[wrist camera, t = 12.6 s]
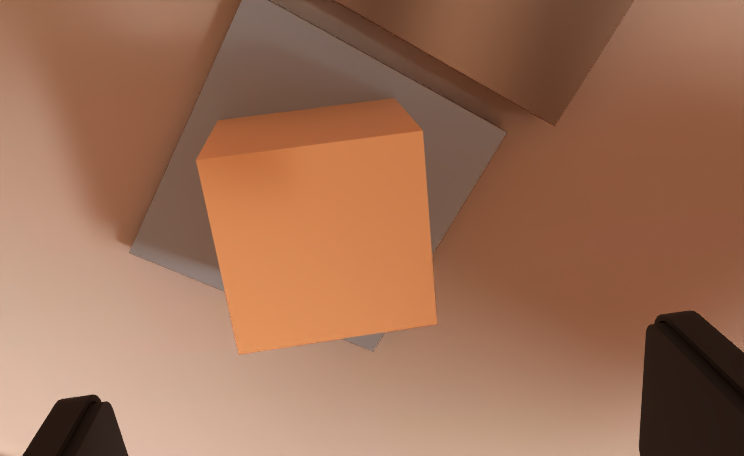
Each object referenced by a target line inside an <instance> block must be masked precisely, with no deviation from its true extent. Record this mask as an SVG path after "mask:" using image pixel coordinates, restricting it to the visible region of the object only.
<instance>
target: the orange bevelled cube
mask: <svg viewBox="0 0 744 456" xmlns="http://www.w3.org/2000/svg"><path fill="white" fill-rule="evenodd" d="M196 163H197V167H198V172H199V176H200V181H201V185H202V190H203V194H204V199H205V203H206V208H207V213H208V217H209V222H210V226H211V231H212V235H213V240H214V244H215V249H216V253H217V258H218V263H219V267H220V272H221V276H222V281H223V285H224V290H225V294H226V299H227V304H228V308H229V313H230V317H231V322H232V326H233V331H234V335H235V340H236V344H237V349H238V354H245V353H252V352H258V351H265V350H271V349H278V348H285V347H291V346H298V345H304V344H311V343H317V342H324V341H330V340H337V339H343V338H350V337H356V336H363V335H369V334H376V333H383V332H389V331H396V330H402V329H409V328H415V327H422V326H428V325H435V324H437V317H436V304H435V290H434V276H433V262H432V249H431V235H430V221H429V207H428V194H427V180H426V166H425V152H424V138H423V130H422V129H421V128H420V127H419V125H418V124H417V123H416V122H415V121H414V120H413V119H412V117H411V116H410V115H409V114H408V113H407V112H406V111H405V109H404V108H403V107H402V106H401V105H400V104H399V102H398V101H397V100H396V99H395V98H390V99H382V100H375V101H367V102H359V103H351V104H343V105H335V106H327V107H319V108H311V109H303V110H295V111H287V112H280V113H272V114H264V115H256V116H248V117H240V118H232V119H224V120H218V121H217V123H216V125H215V126H214V128H213V130H212V132H211V134H210V136H209V137H208V139H207V141H206V143H205V145H204V146H203V148H202V150H201V152H200V154H199V156H198V157H197V159H196Z"/></svg>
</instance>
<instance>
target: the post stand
mask: <svg viewBox="0 0 744 456" xmlns="http://www.w3.org/2000/svg"><path fill="white" fill-rule="evenodd" d="M335 1H336V2H338V3H340V4H342V5H343V6H345V7H347V8H349V9H350V10H352V11H354V12H356V13H357V14H359V15H361V16H363V17H364V18H366V19H368V20H370V21H371V22H373V23H375V24H377V25H378V26H380V27H382V28H384V29H385V30H387V31H389V32H391V33H392V34H394V35H396V36H398V37H399V38H401V39H403V40H405V41H406V42H408V43H410V44H412V45H413V46H415V47H417V48H419V49H420V50H422V51H424V52H426V53H427V54H429V55H431V56H433V57H434V58H436V59H438V60H440V61H441V62H443V63H445V64H447V65H448V66H450V67H452V68H454V69H455V70H457V71H459V72H461V73H462V74H464V75H466V76H468V77H469V78H471V79H473V80H475V81H476V82H478V83H480V84H482V85H483V86H485V87H487V88H489V89H490V90H492V91H494V92H495V93H497V94H499V95H501V96H502V97H504V98H506V99H508V100H509V101H511V102H513V103H515V104H516V105H518V106H520V107H522V108H523V109H525V110H527V111H529V112H530V113H532V114H534V115H536V116H537V117H539V118H541V119H543V120H545V121H546V122H548V123H550V124H552V125H554V126H555V125H556V123H557V121H558V120H559V118H560V117H561V115H562V114H563V112H564V110H565V109H566V107H567V106H568V104H569V103H570V101H571V99H572V98H573V96H574V95H575V93H576V91H577V90H578V88H579V87H580V85H581V84H582V82H583V80H584V79H585V77H586V76H587V74H588V72H589V71H590V69H591V68H592V66H593V65H594V63H595V61H596V60H597V58H598V57H599V55H600V53H601V52H602V50H603V49H604V47H605V46H606V44H607V42H608V41H609V39H610V38H611V36H612V34H613V33H614V31H615V30H616V28H617V27H618V25H619V23H620V22H621V20H622V19H623V17H624V16H625V14H626V12H627V11H628V9H629V8H630V6H631V4H632V3H633V1H634V0H335Z"/></svg>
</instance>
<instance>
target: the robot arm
mask: <svg viewBox="0 0 744 456" xmlns="http://www.w3.org/2000/svg"><path fill="white" fill-rule="evenodd" d="M639 451H640V456H744V353H743V352H742V351H741V350H740V349H739V348H738V347H736V346H735V345H734V344H733V343H732V342H731V341H729V340H728V339H727V338H726V337H725V336H724V335H722V334H721V333H720V332H719V331H718V330H717V329H715V328H714V327H713V326H712V325H711V324H710V323H708V322H707V321H706V320H705V319H704V318H703V317H701V316H700V315H699V314H698V313H696V312H695V311H683V312H676V313H669V314H662V315H659V316H657V318H656V320H655V323H654V324H651V325H649V326H648V327H647V330H646V341H645V357H644V373H643V389H642V405H641V421H640V437H639ZM23 456H128V453H127V450H126V447H125V444H124V441H123V438H122V435H121V432H120V429H119V426H118V423H117V420H116V417H115V414H114V411H113V408H112V406H111V404H110V403H109V402H101V400H100V398H99V397H98V396H96V395H87V396H80V397H73V398H66V399H61V400H58V402H57V403H56V404H55V405H54V407H53V408H52V410H51V411H50V413H49V415H48V416H47V418H46V419H45V421H44V422H43V424H42V426H41V427H40V429H39V430H38V432H37V433H36V435H35V437H34V438H33V440H32V441H31V443H30V445H29V446H28V448H27V449H26V451H25V452H24V454H23Z"/></svg>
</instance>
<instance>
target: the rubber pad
mask: <svg viewBox="0 0 744 456" xmlns="http://www.w3.org/2000/svg"><path fill="white" fill-rule="evenodd" d="M390 98H395V99H396V100H397V101H398V102H399V104H400V105H401V106H402V107H403V108H404V109H405V111H406V112H407V113H408V114H409V115H410V116H411V117H412V119H413V120H414V121H415V122H416V123H417V124H418V125H419V127H420V128H421V129H422V130H423V138H424V152H425V166H426V180H427V194H428V207H429V221H430V235H431V249H432V255H433V253H434V251H435V250H436V248H437V246H438V245H439V243H440V242H441V240H442V238H443V237H444V235H445V233H446V232H447V230H448V228H449V227H450V225H451V223H452V222H453V220H454V219H455V217H456V215H457V214H458V212H459V210H460V209H461V207H462V205H463V204H464V202H465V201H466V199H467V197H468V196H469V194H470V192H471V191H472V189H473V187H474V186H475V184H476V183H477V181H478V179H479V178H480V176H481V174H482V173H483V171H484V169H485V168H486V166H487V164H488V163H489V161H490V160H491V158H492V156H493V155H494V153H495V151H496V150H497V148H498V146H499V145H500V143H501V142H502V140H503V138H504V137H505V135H506V133H507V132H505V131H504V130H503V129H501V128H499V127H497V126H496V125H494V124H492V123H490V122H488V121H487V120H485V119H483V118H481V117H479V116H478V115H476V114H474V113H472V112H470V111H469V110H467V109H465V108H463V107H461V106H460V105H458V104H456V103H454V102H452V101H450V100H449V99H447V98H445V97H443V96H441V95H440V94H438V93H436V92H434V91H432V90H431V89H429V88H427V87H425V86H423V85H422V84H420V83H418V82H416V81H414V80H413V79H411V78H409V77H407V76H405V75H404V74H402V73H400V72H398V71H396V70H395V69H393V68H391V67H389V66H387V65H386V64H384V63H382V62H380V61H378V60H376V59H375V58H373V57H371V56H369V55H367V54H366V53H364V52H362V51H360V50H358V49H357V48H355V47H353V46H351V45H349V44H348V43H346V42H344V41H342V40H340V39H339V38H337V37H335V36H333V35H331V34H330V33H328V32H326V31H324V30H322V29H321V28H319V27H317V26H315V25H313V24H312V23H310V22H308V21H306V20H304V19H302V18H301V17H299V16H297V15H295V14H293V13H292V12H290V11H288V10H286V9H284V8H283V7H281V6H279V5H277V4H275V3H274V2H272V1H270V0H242V1H241V3H240V5H239V7H238V10H237V12H236V14H235V16H234V19H233V21H232V23H231V25H230V27H229V30H228V32H227V34H226V36H225V39H224V41H223V43H222V45H221V48H220V50H219V52H218V54H217V57H216V59H215V61H214V63H213V66H212V68H211V70H210V72H209V75H208V77H207V79H206V81H205V83H204V86H203V88H202V90H201V92H200V95H199V97H198V99H197V101H196V104H195V106H194V108H193V110H192V113H191V115H190V117H189V119H188V122H187V124H186V126H185V128H184V131H183V133H182V135H181V137H180V140H179V142H178V144H177V146H176V148H175V151H174V153H173V155H172V157H171V160H170V162H169V164H168V166H167V169H166V171H165V173H164V175H163V178H162V180H161V182H160V184H159V187H158V189H157V191H156V193H155V196H154V198H153V200H152V202H151V205H150V207H149V209H148V211H147V213H146V216H145V218H144V220H143V222H142V225H141V227H140V229H139V231H138V234H137V236H136V238H135V240H134V243H133V245H132V247H131V249H130V252H129V253H130V254H133V255H135V256H138V257H140V258H143V259H145V260H148V261H150V262H153V263H155V264H158V265H160V266H163V267H165V268H167V269H170V270H172V271H175V272H177V273H180V274H182V275H185V276H187V277H190V278H192V279H195V280H197V281H200V282H202V283H205V284H207V285H210V286H212V287H214V288H217V289H219V290H222V291H224V292H225V290H224V285H223V281H222V276H221V272H220V267H219V263H218V258H217V253H216V249H215V244H214V240H213V235H212V231H211V226H210V222H209V217H208V213H207V208H206V203H205V199H204V194H203V190H202V185H201V181H200V176H199V172H198V167H197V163H196V159H197V157H198V156H199V154H200V152H201V150H202V148H203V146H204V145H205V143H206V141H207V139H208V137H209V136H210V134H211V132H212V130H213V128H214V126H215V125H216V123H217V121H218V120H224V119H232V118H240V117H248V116H256V115H264V114H272V113H280V112H287V111H295V110H303V109H311V108H319V107H327V106H335V105H343V104H351V103H359V102H367V101H375V100H382V99H390ZM384 333H385V332H383V333H376V334H369V335H363V336H356V337H350V338H343V340H346V341H348V342H351V343H353V344H355V345H358V346H360V347H363V348H365V349H368V350H370V351H374V350H375V348H376V346H377V345H378V343H379V341H380V340H381V338H382V337H383V335H384Z"/></svg>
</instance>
